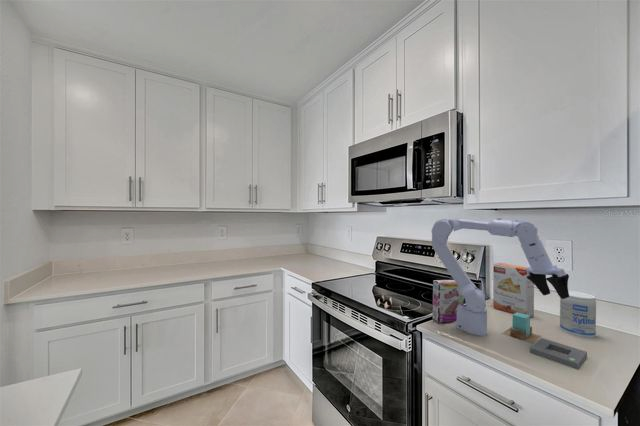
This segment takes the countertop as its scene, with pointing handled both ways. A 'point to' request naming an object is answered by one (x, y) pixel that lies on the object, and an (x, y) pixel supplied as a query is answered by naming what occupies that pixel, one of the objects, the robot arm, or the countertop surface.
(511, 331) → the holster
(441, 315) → the candy bar box
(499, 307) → the cracker box
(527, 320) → the plug
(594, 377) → the countertop surface
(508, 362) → the countertop surface
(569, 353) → the port
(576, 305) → the supplement tub
